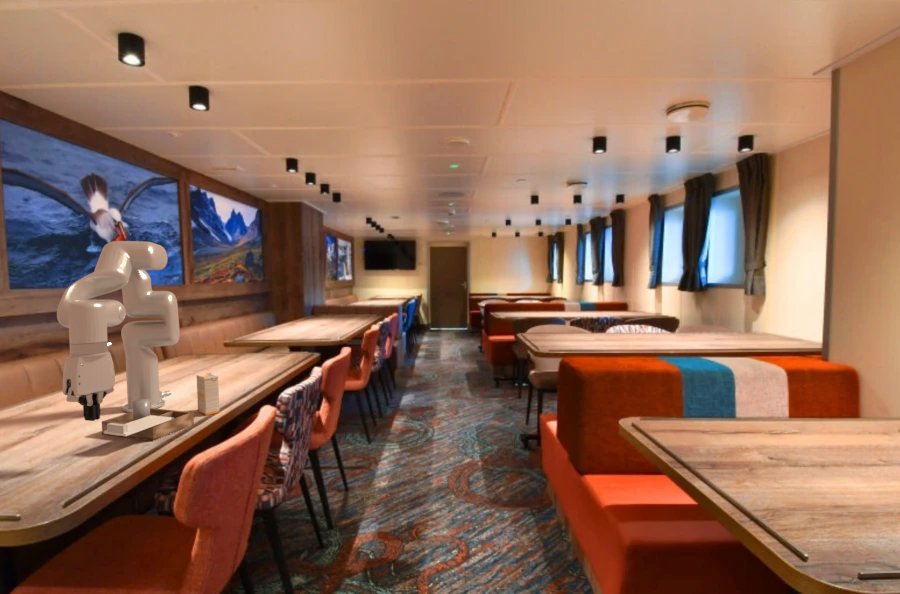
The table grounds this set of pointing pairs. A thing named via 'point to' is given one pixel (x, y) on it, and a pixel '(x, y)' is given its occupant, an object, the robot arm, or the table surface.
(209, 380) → the supplement box
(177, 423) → the housing
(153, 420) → the lid
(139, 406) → the grey cylinder
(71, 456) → the table surface
